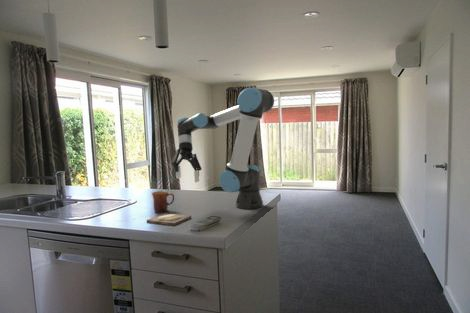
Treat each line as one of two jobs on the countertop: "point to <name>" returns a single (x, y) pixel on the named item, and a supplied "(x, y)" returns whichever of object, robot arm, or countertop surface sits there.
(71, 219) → the countertop surface
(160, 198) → the mug
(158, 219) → the board
